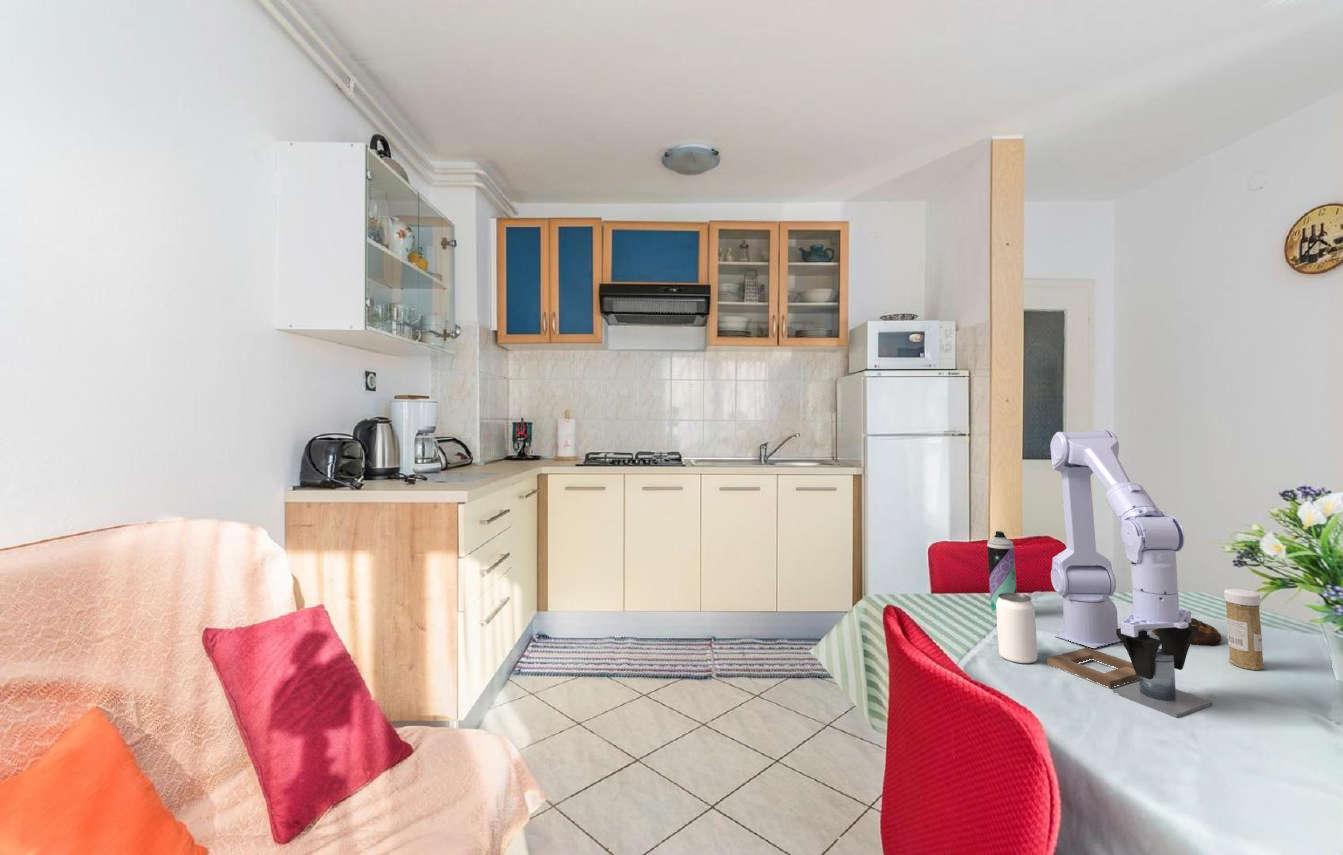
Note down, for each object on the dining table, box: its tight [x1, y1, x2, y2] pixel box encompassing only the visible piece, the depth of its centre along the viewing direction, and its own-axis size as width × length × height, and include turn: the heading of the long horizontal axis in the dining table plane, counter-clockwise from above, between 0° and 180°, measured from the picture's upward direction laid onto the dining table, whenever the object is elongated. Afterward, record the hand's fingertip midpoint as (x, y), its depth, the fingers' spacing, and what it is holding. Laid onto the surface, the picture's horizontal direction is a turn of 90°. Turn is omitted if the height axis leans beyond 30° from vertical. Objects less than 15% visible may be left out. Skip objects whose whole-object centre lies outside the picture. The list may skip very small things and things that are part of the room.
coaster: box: [1112, 681, 1213, 719], centre depth 90 cm, size 9×9×1 cm
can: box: [996, 592, 1038, 665], centre depth 108 cm, size 6×6×12 cm
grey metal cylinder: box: [1138, 647, 1177, 701], centre depth 91 cm, size 4×4×7 cm
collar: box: [1046, 647, 1139, 689], centre depth 101 cm, size 11×11×1 cm
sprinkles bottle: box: [1223, 588, 1265, 671], centre depth 100 cm, size 5×5×14 cm
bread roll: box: [1151, 617, 1223, 647], centre depth 114 cm, size 11×11×5 cm
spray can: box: [986, 530, 1017, 618], centre depth 131 cm, size 6×6×20 cm
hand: (1159, 671), depth 90 cm, fingers open, 7 cm apart
